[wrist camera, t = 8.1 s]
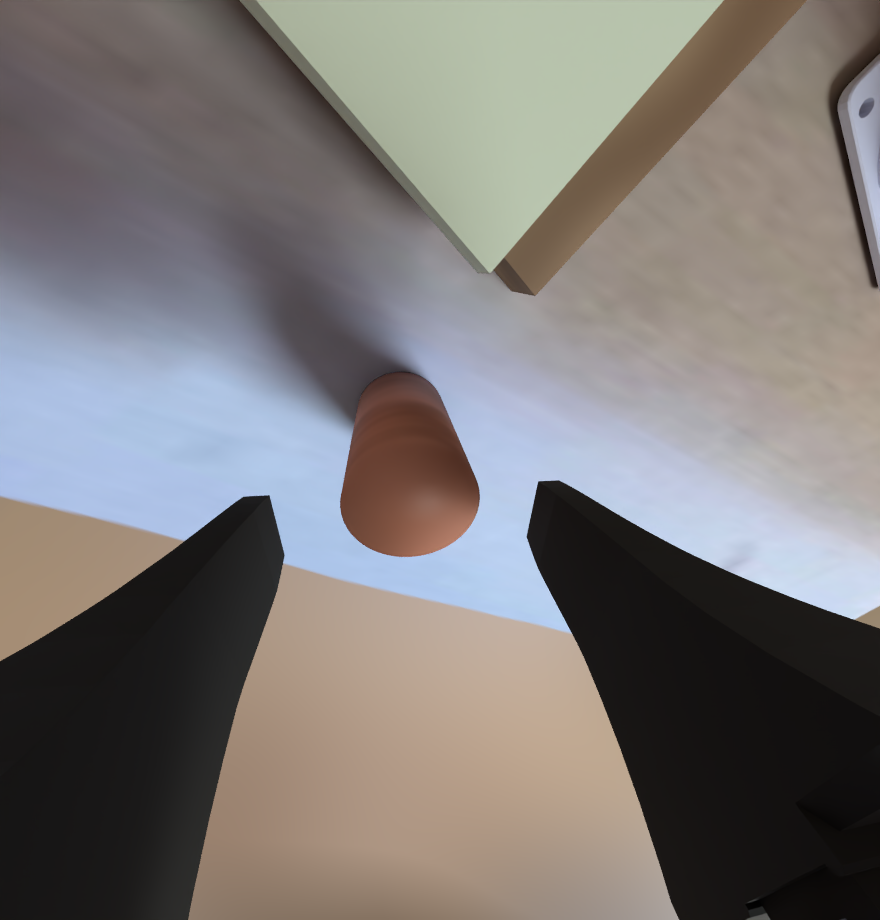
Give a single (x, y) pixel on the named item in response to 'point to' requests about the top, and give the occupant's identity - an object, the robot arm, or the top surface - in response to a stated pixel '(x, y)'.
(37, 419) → the top surface
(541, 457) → the top surface
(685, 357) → the top surface
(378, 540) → the pin
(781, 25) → the board
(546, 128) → the cover
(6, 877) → the robot arm
